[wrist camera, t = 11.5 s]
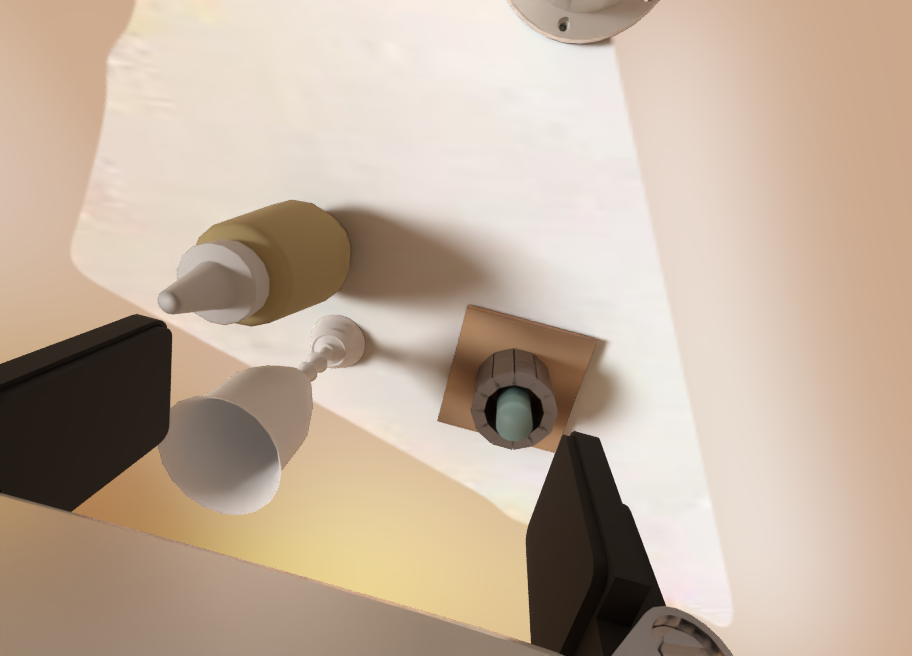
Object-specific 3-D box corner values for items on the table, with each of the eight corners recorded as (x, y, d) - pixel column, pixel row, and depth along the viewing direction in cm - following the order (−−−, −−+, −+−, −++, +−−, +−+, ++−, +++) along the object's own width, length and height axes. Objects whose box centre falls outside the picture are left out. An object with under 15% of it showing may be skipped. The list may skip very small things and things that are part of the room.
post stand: (467, 304, 39) (458, 336, 31) (593, 337, 38) (615, 378, 31) (439, 414, 42) (424, 467, 35) (553, 445, 42) (564, 506, 34)
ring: (486, 340, 38) (484, 363, 34) (560, 360, 38) (568, 386, 33) (467, 405, 40) (462, 436, 36) (537, 424, 40) (541, 457, 35)
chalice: (292, 308, 40) (137, 402, 23) (364, 297, 39) (257, 389, 22) (313, 382, 43) (185, 518, 26) (382, 374, 42) (297, 511, 25)
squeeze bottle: (265, 199, 38) (66, 216, 21) (359, 196, 37) (233, 212, 20) (280, 294, 40) (114, 379, 23) (369, 293, 39) (264, 381, 22)
